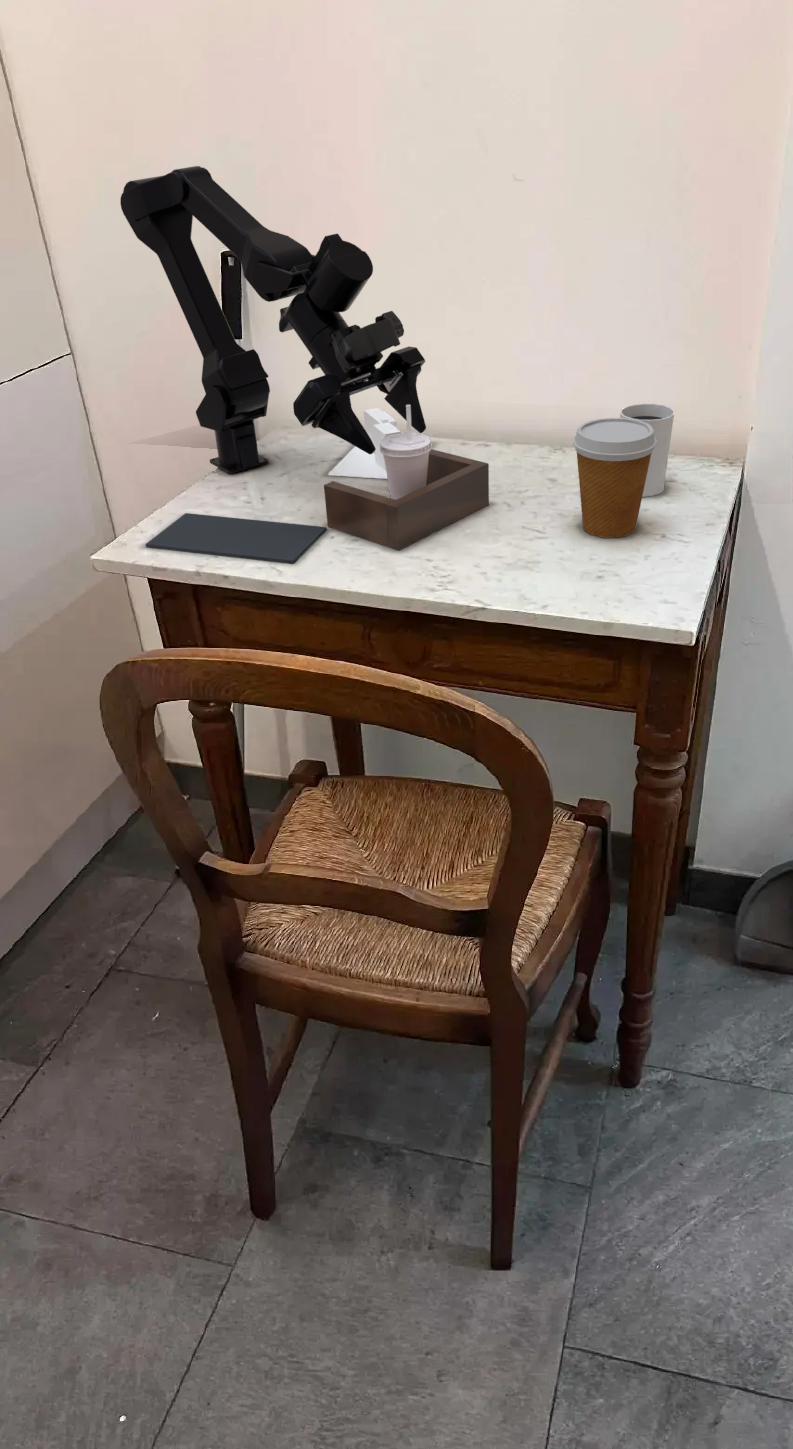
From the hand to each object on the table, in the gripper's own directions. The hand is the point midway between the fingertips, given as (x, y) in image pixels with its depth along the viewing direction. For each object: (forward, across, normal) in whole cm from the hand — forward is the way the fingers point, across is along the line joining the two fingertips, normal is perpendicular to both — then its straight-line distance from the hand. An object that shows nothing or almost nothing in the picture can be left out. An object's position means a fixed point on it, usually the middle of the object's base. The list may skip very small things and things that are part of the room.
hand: (398, 441), depth 130 cm
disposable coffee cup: (+23, +11, -10) cm, 28 cm away
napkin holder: (-5, +13, +18) cm, 23 cm away
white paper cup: (+21, +24, -7) cm, 33 cm away
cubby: (+7, 0, +6) cm, 9 cm away
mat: (-2, -18, +15) cm, 23 cm away
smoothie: (+8, 0, +6) cm, 10 cm away
